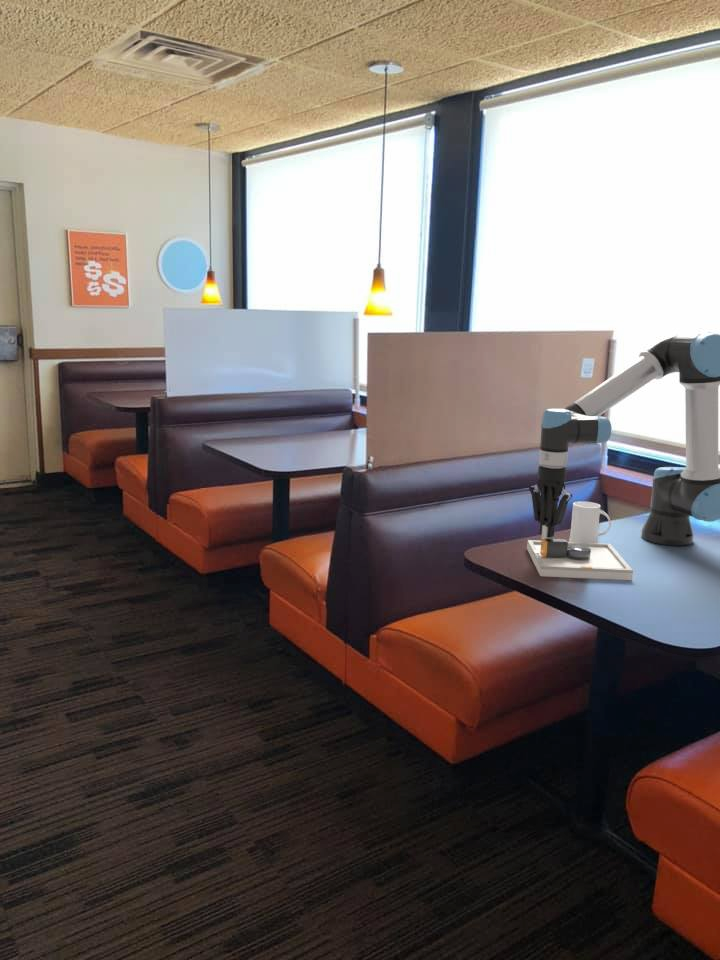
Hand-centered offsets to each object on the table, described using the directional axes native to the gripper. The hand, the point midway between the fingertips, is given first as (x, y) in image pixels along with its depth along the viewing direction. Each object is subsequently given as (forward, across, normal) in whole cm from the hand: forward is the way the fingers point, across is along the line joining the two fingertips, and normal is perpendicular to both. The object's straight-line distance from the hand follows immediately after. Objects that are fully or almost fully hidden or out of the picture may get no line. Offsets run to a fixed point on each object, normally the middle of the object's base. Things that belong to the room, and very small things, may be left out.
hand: (545, 547), depth 215 cm
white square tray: (+4, +7, +5) cm, 10 cm away
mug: (+4, -2, +26) cm, 26 cm away
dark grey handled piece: (+2, +5, +2) cm, 6 cm away
